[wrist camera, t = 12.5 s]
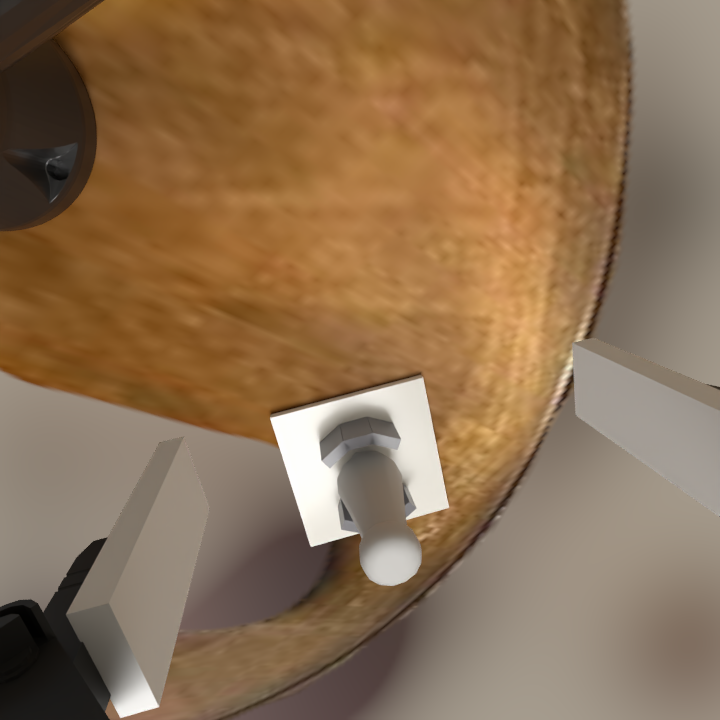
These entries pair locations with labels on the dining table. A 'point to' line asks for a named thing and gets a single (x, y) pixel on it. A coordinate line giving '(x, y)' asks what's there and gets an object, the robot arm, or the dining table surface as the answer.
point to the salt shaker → (379, 517)
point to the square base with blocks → (359, 434)
